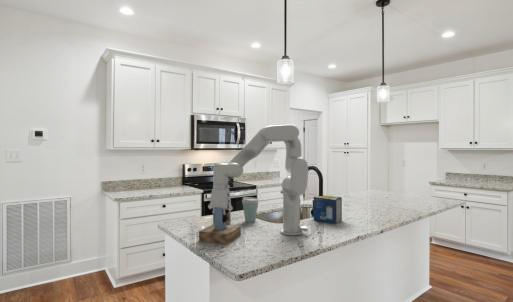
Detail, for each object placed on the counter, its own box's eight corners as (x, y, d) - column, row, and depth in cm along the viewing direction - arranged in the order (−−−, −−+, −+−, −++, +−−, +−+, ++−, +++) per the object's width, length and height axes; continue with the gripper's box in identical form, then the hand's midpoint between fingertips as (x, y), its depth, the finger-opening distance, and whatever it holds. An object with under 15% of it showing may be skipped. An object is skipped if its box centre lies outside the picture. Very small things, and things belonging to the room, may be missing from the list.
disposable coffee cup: (259, 219, 193) (259, 196, 193) (257, 223, 182) (257, 199, 182) (243, 219, 194) (243, 196, 194) (240, 223, 183) (240, 199, 183)
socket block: (240, 235, 158) (240, 226, 157) (227, 244, 143) (227, 234, 143) (214, 232, 163) (214, 223, 163) (199, 240, 148) (199, 231, 148)
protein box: (320, 217, 200) (320, 194, 199) (342, 221, 190) (342, 197, 190) (313, 220, 191) (313, 196, 191) (335, 224, 182) (335, 199, 182)
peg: (225, 228, 154) (226, 206, 154) (221, 231, 150) (222, 207, 150) (218, 227, 156) (218, 205, 156) (214, 230, 152) (214, 207, 152)
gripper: (238, 186, 153) (237, 221, 153) (210, 185, 159) (209, 218, 159) (231, 188, 146) (231, 225, 146) (202, 186, 152) (202, 221, 152)
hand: (220, 221), depth 153 cm, fingers closed on peg, 4 cm apart
